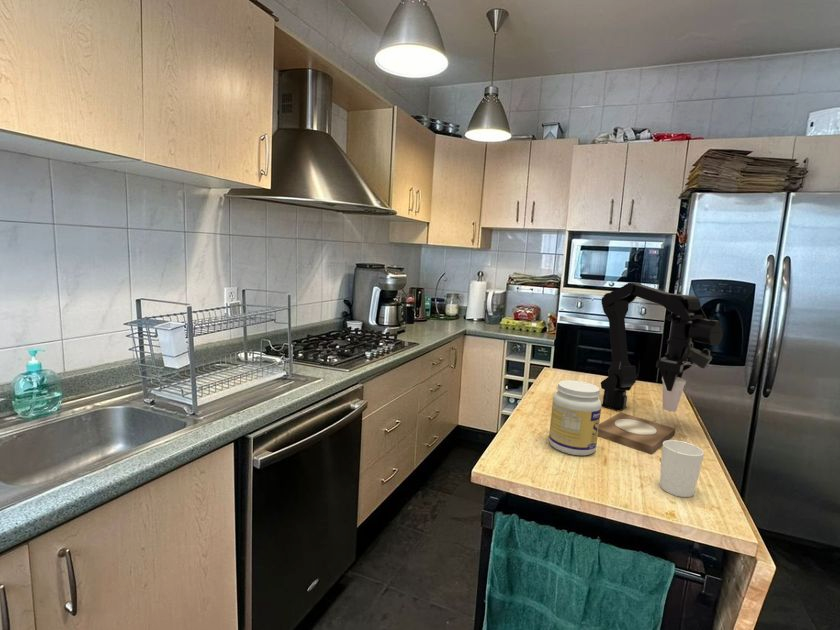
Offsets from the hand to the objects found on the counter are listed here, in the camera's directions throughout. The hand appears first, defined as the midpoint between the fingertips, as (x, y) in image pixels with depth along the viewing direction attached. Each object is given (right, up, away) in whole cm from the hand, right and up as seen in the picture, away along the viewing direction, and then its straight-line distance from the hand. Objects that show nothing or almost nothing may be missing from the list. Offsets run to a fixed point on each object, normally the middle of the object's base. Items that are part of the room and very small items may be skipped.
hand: (672, 388), depth 135 cm
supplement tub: (-35, -13, -15) cm, 40 cm away
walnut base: (-13, -13, -4) cm, 19 cm away
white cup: (-18, -17, -34) cm, 42 cm away
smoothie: (0, -7, +1) cm, 7 cm away
